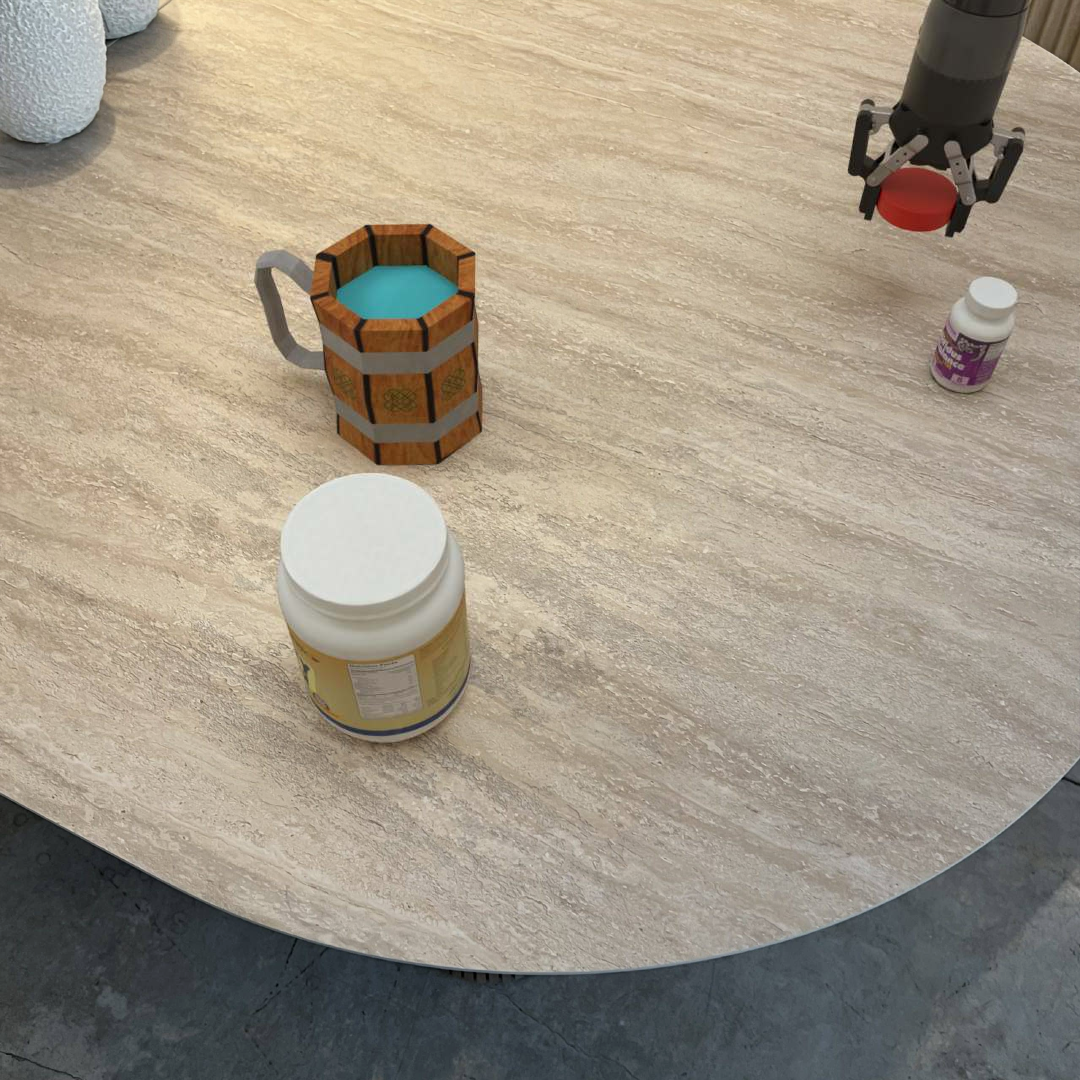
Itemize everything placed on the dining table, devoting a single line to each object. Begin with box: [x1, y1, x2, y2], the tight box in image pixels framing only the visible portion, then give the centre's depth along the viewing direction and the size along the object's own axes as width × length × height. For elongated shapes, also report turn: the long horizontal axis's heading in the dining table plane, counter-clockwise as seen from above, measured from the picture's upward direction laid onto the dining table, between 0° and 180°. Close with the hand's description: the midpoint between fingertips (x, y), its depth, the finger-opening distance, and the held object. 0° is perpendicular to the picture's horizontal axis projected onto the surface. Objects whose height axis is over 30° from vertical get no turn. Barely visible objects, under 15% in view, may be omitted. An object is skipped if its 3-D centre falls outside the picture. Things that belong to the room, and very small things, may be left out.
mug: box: [253, 223, 483, 466], centre depth 95 cm, size 20×14×15 cm
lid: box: [875, 166, 958, 233], centre depth 101 cm, size 7×7×2 cm
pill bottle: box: [930, 276, 1018, 394], centre depth 100 cm, size 5×5×10 cm
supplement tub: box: [276, 472, 472, 743], centre depth 77 cm, size 12×12×17 cm
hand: (909, 223), depth 103 cm, fingers closed on lid, 6 cm apart
